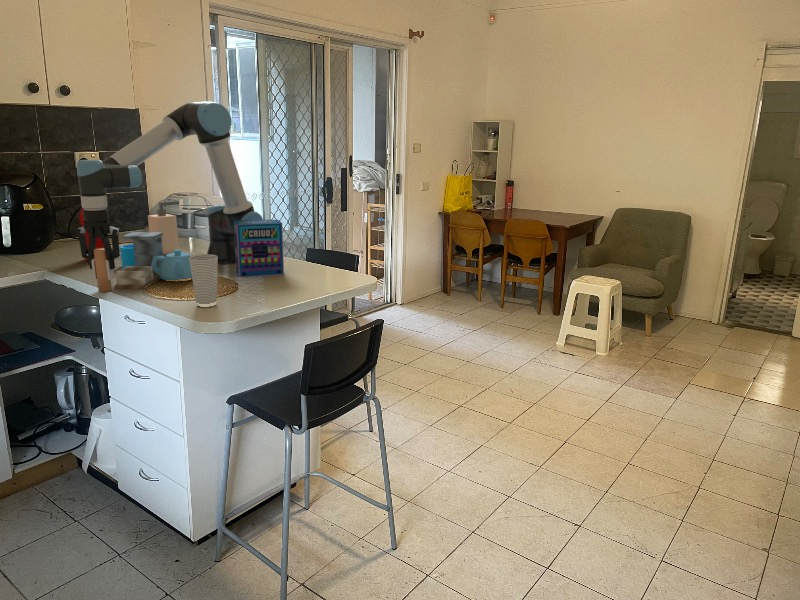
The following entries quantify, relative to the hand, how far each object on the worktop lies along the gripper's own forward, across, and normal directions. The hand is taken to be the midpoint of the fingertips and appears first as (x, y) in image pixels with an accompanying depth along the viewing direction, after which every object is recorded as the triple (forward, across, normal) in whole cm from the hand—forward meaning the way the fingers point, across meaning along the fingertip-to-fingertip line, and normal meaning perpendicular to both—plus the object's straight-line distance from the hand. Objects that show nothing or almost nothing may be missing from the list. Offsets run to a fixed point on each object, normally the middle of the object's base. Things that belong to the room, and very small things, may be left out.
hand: (103, 278), depth 199 cm
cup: (+5, -38, +16) cm, 42 cm away
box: (+5, -46, -28) cm, 54 cm away
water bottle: (+5, +24, -47) cm, 53 cm away
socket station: (+4, -7, -13) cm, 15 cm away
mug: (+5, +4, -38) cm, 39 cm away
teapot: (+5, -19, -19) cm, 27 cm away
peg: (+4, 0, 0) cm, 4 cm away
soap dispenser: (+5, +2, -68) cm, 68 cm away
